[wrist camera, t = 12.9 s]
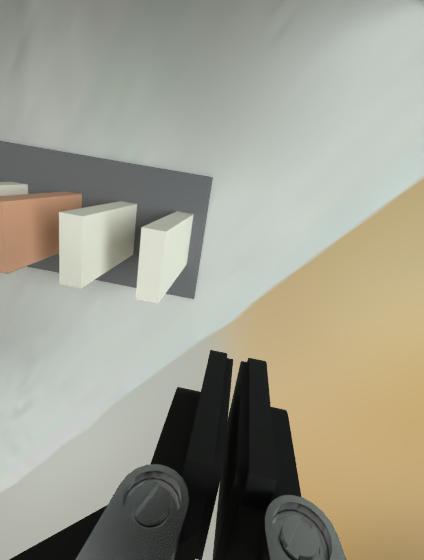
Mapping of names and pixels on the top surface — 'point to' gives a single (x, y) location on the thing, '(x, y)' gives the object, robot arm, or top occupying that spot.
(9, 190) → the domino
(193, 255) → the mat
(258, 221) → the top surface
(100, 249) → the domino
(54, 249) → the terracotta domino
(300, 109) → the top surface
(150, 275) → the domino
